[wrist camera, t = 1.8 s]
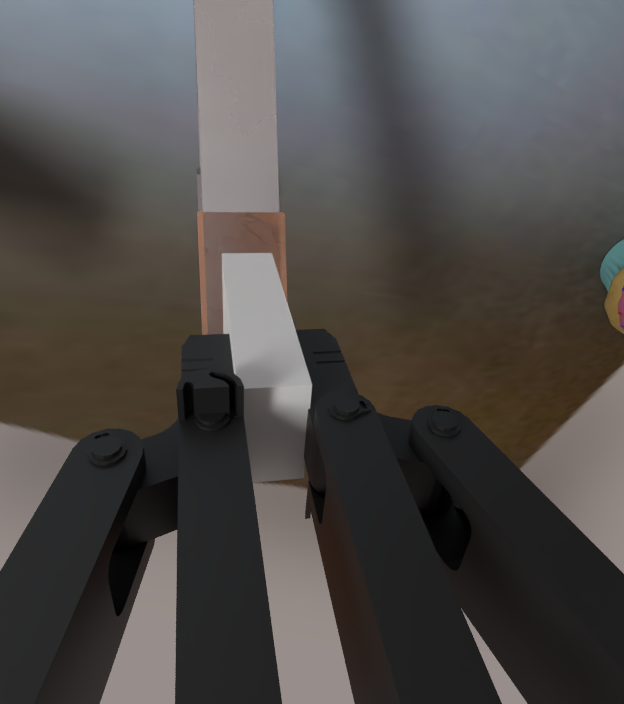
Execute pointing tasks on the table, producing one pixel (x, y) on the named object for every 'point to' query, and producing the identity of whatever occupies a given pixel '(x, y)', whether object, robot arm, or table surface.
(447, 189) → the table surface
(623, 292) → the cupcake
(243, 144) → the bar
